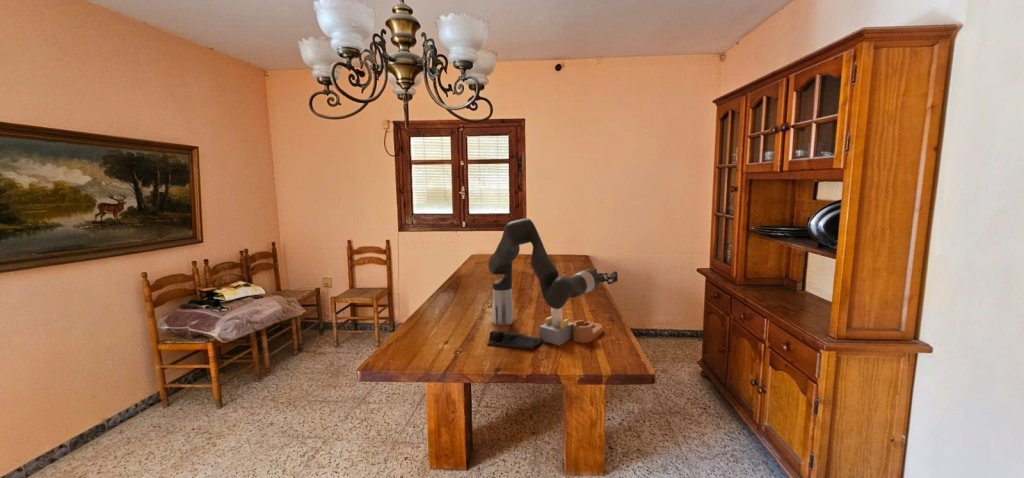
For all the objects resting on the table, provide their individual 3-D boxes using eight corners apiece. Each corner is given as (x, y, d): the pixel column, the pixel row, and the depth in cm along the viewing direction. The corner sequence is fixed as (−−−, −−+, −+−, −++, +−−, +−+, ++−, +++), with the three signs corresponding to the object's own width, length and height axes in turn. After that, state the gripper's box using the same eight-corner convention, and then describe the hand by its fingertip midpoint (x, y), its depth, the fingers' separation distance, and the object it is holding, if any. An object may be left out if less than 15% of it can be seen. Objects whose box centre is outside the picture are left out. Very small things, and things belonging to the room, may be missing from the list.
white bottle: (554, 327, 167) (553, 303, 166) (549, 323, 172) (549, 300, 170) (564, 325, 169) (564, 302, 167) (559, 322, 173) (559, 299, 172)
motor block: (559, 345, 163) (559, 325, 162) (539, 339, 170) (539, 320, 168) (577, 334, 175) (577, 315, 173) (558, 329, 181) (558, 311, 180)
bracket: (587, 344, 164) (587, 328, 163) (569, 340, 169) (569, 324, 168) (605, 330, 178) (605, 316, 177) (588, 327, 183) (588, 312, 182)
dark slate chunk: (531, 355, 157) (531, 343, 156) (483, 345, 167) (483, 335, 166) (545, 340, 170) (545, 330, 169) (501, 332, 180) (500, 322, 179)
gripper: (603, 274, 134) (623, 265, 147) (567, 268, 143) (589, 261, 156) (603, 295, 135) (623, 284, 148) (567, 288, 145) (589, 279, 157)
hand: (605, 272), depth 152 cm, fingers open, 8 cm apart
